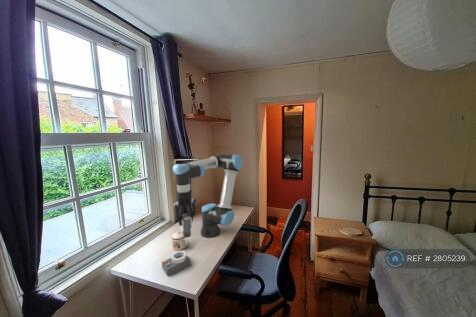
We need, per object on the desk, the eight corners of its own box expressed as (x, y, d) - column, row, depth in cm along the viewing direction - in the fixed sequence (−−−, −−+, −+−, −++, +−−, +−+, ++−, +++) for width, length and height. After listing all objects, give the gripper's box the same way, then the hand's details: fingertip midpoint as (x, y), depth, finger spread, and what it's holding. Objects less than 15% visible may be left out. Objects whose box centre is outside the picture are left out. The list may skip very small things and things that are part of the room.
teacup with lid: (169, 249, 134) (168, 233, 133) (178, 242, 142) (177, 227, 141) (183, 253, 130) (182, 236, 128) (191, 245, 138) (190, 230, 136)
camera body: (184, 257, 125) (183, 248, 124) (190, 264, 118) (189, 255, 117) (162, 267, 116) (161, 258, 115) (167, 276, 109) (166, 265, 108)
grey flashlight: (188, 232, 120) (187, 212, 118) (192, 235, 116) (191, 214, 114) (181, 235, 116) (180, 214, 115) (185, 238, 113) (183, 217, 111)
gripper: (194, 186, 121) (196, 221, 124) (166, 192, 110) (169, 231, 113) (200, 188, 116) (202, 225, 119) (171, 195, 104) (174, 236, 107)
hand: (186, 228), depth 116 cm, fingers closed on grey flashlight, 4 cm apart
